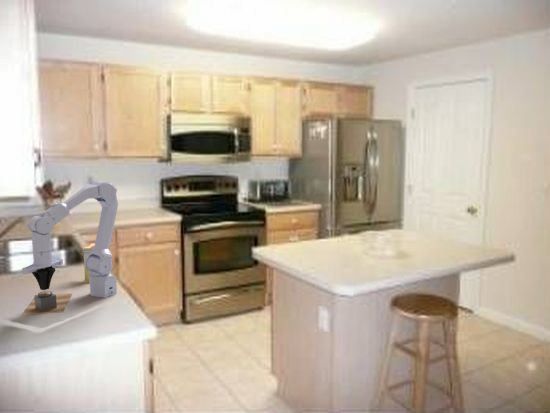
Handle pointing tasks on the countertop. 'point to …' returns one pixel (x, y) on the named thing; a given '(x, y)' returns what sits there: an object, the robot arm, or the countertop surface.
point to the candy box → (86, 254)
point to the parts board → (61, 304)
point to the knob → (45, 301)
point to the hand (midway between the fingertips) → (44, 289)
